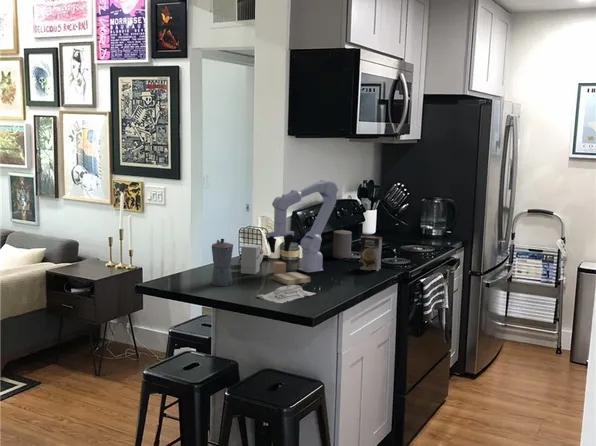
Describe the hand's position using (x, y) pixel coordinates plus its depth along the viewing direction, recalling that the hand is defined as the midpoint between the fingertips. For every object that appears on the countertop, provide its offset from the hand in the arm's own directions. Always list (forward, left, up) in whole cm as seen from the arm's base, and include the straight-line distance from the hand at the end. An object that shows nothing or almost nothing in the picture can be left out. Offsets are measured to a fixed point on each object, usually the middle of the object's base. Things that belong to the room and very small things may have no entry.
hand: (279, 251), depth 289 cm
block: (0, 0, -10) cm, 10 cm away
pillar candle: (-50, -16, -10) cm, 54 cm away
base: (+3, +15, -10) cm, 18 cm away
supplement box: (+11, -8, -10) cm, 17 cm away
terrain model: (+19, +35, -11) cm, 41 cm away
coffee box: (-44, +14, -10) cm, 47 cm away
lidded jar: (+3, -20, -10) cm, 23 cm away
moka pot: (+33, +5, -10) cm, 35 cm away
